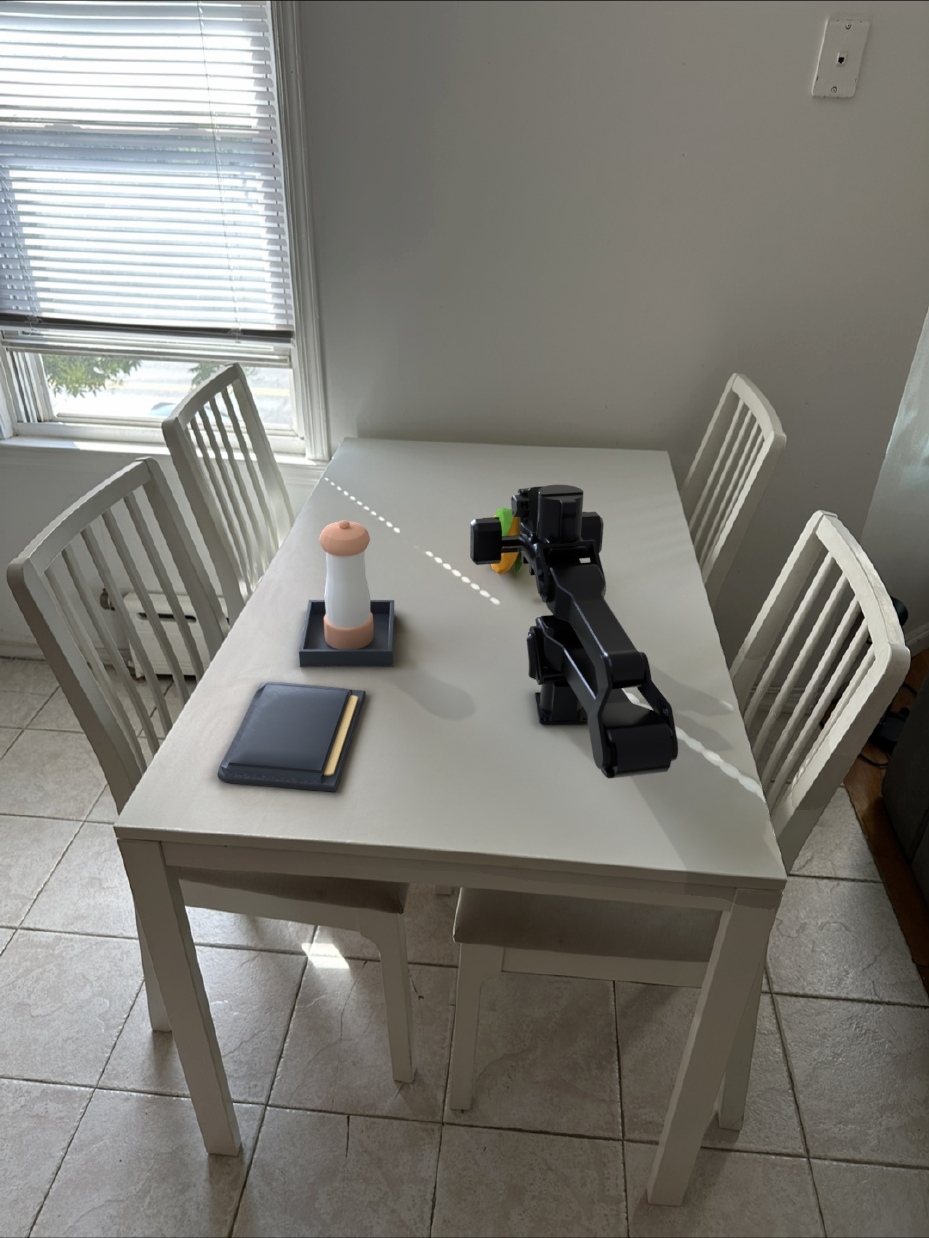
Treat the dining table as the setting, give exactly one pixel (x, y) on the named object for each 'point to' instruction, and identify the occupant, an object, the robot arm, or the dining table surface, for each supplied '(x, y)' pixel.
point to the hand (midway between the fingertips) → (521, 518)
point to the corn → (509, 529)
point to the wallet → (293, 737)
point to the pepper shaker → (346, 586)
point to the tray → (322, 654)
